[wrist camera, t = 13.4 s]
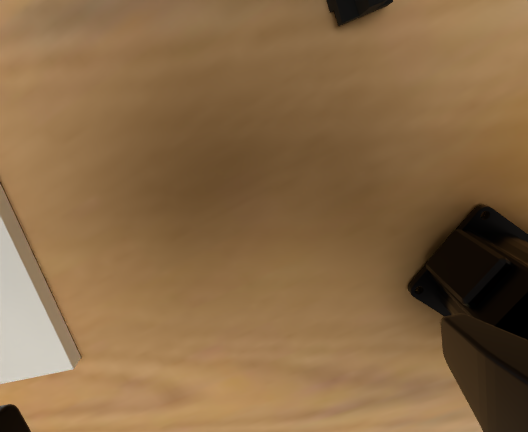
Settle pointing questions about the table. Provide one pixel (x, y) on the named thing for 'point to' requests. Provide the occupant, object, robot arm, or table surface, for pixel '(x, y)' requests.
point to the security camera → (354, 8)
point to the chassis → (28, 310)
